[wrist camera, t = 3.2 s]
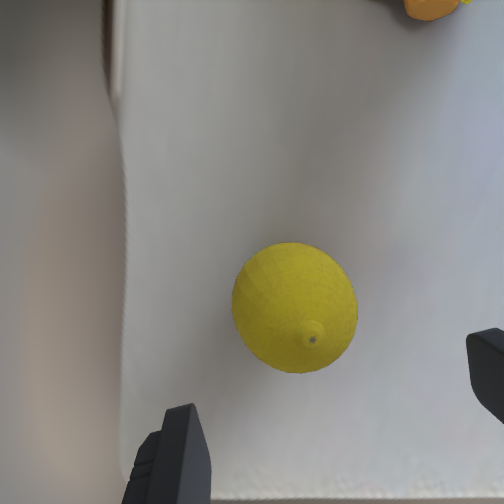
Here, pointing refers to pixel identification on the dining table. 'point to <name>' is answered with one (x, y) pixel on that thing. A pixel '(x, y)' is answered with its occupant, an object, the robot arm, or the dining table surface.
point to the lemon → (294, 307)
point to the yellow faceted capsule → (431, 8)
